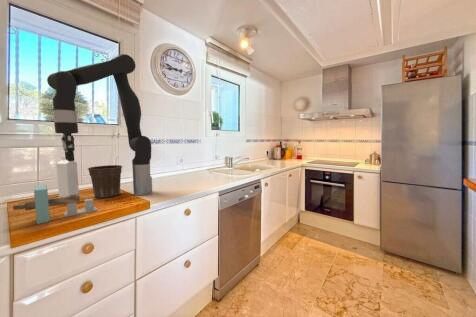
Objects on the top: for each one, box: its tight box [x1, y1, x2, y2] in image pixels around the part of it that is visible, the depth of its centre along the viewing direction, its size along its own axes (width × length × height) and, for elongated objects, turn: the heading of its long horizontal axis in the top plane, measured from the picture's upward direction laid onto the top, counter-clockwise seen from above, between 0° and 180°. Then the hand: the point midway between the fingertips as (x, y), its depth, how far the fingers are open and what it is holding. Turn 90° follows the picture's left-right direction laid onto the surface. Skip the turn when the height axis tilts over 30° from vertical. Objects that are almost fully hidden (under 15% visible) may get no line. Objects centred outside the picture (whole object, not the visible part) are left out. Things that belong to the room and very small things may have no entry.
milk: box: [55, 156, 80, 197], centre depth 110 cm, size 6×6×22 cm
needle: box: [12, 193, 81, 211], centre depth 81 cm, size 19×3×3 cm, turn 133°
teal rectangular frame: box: [33, 184, 51, 225], centre depth 80 cm, size 4×9×13 cm, turn 42°
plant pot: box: [87, 164, 123, 199], centre depth 115 cm, size 16×16×16 cm
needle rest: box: [63, 198, 98, 218], centre depth 88 cm, size 11×4×5 cm, turn 133°
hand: (69, 160), depth 88 cm, fingers open, 8 cm apart
